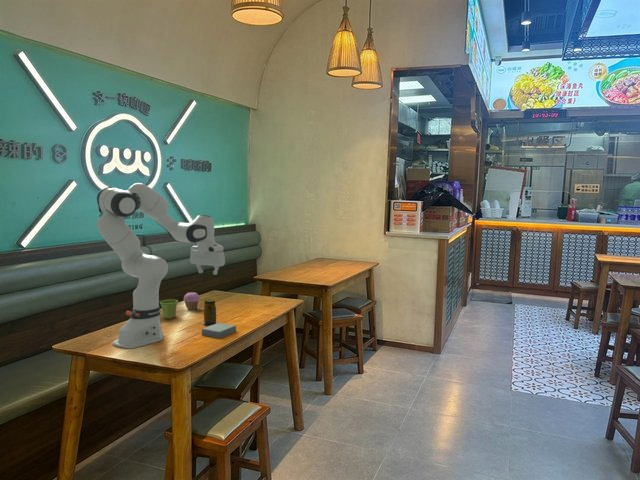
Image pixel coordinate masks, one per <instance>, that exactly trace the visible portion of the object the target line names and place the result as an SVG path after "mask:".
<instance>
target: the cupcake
mask: <svg viewBox="0 0 640 480" xmlns="http://www.w3.org/2000/svg"><path fill="white" fill-rule="evenodd" d="M200 297H201V296H200V295H199V294H198V292H187V293H186V294H185V295H184V296H183V302H184V303H185V307H186V309H187V310H190V311H193V310H197V309H198V306H199V301H200V299H201V298H200Z"/></svg>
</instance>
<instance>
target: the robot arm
mask: <svg viewBox="0 0 640 480" xmlns="http://www.w3.org/2000/svg"><path fill="white" fill-rule="evenodd" d="M96 195H97V196H96V202H97V206H98V212H99V213H100V214H101V216H100V217H99V218H98V219H97V221H96V227H97V230H98V232H99V233H100V235H101V236H102V238H103V239H104V240H105V242H106V243H107V244H108V245H109V247H110V248H111V249H112V250H113V252H114V253H115V254H116V255H117V256H118V258H119V259H120V261H121V269H122V271H123V272H124V273H125V274H127V275H129V276H130V277H134V278H138V284H137V286H136V288H135V289H133V292H132V302H133V305H132V306H133V307H132V310H131V311H129V310H126V312H125V315H126V316H129V317H130V318H129V319H128V320H126V322H125V324H123V326H121V328H119V330H118V333H117V335H118V336H117V338H116V339H114V340H113V341H112V345H113V346H115V347H118V348H122V349H124V348H125V349H136V348H139V347H142V346H146V345H150V344H154V343H157V342H161V341H163V340H164V332H163V328H162V323H161V319H160V315H161V305H160V300H159V299H160V298H159V297H160V296H159V295H160V294H159V292H160V291H159V290H160V286H161V283H162V280H164V278H165V277H166V275H167V274H168V271H169V265H168V262H167V261H166V259H164V258H163V257H160V256H158V255H152V254H147V253H145V252H144V251H143V250H142V248H141V240H140V239H139V237H138V236H137V235H136V234H135V232H134V231H133V230H132V229H131V228H130V226H129V225H128V224H127V223H126V221H125V218H127V217H130V216H132V215H133V214H135V213H136V211H137V210H138V211H140V212H141V213H143V214H144V215H145V216H147V217H149V218H150V219H152V220H153V221H154V222H155V223H157V224H158V225H159V226H161V228H163V229H164V230H165V231H166V232H167V234H168V235H169V237H170V239H172V240H173V241H175V242H177V243H182V242H183V243H189V244H195V243H196V245H193V246H191V247H190V255H189V256H190V257H189V262H190V264H191V265H195V266H196V268H197V270H198V273H199V274H203V273H204V269H202V266H211V267H213V268H214V270H213V271H212V275H215V276H216V275H218V271H219V269H220V267H223V266H225V264H226V257H225V252H224V246H223V245H221V244H219V243H217V242H216V239H215V231H216V230H215V223H214V219H213V217H212V216H211V215H206V214H205V215H204V214H199V215H197V216H196V217H195V218H194V219H193V220H192V221H190V222H184V221H183V222H182V221H177V220H175V219H174V218H172V217H171V215H169V214H168V213H167V212H168V210H169V202H168V201H167V200H166V198H165V197H164V196H163V195H161V194H160V193H159V192H157V191H156V190H155V189H153V188H151V187H150V186H148V185H146V184H144V183H143V182H142V183H141V182H136V183H135V182H134V183H133V184H132V185H130V187H128V189H127V190H123V189H120V188H117V187H114V186H110V187H109V186H108V187H104V188H102V189H100V190H99V191H98V193H97V194H96Z"/></svg>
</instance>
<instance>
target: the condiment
mask: <svg viewBox="0 0 640 480" xmlns="http://www.w3.org/2000/svg"><path fill="white" fill-rule="evenodd" d="M203 317H204V318H203V322H200V324H201V325H204V326H206V327H209V326H211V325H214V324H216V323H218V322H217V306H216V300H214V299H206V300H205V301H204V306H203Z"/></svg>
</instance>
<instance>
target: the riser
mask: <svg viewBox="0 0 640 480" xmlns="http://www.w3.org/2000/svg"><path fill="white" fill-rule="evenodd" d="M236 332H237V326H236V325H233V324H229V323H223V322H217V323H216V324H214V325H211V326H209V327H208V326H206V327H204V328H202V329H201V336H205V337H212V338H214V339H221V338H223V337H227V336H229V335H231V334H234V333H236Z"/></svg>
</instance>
